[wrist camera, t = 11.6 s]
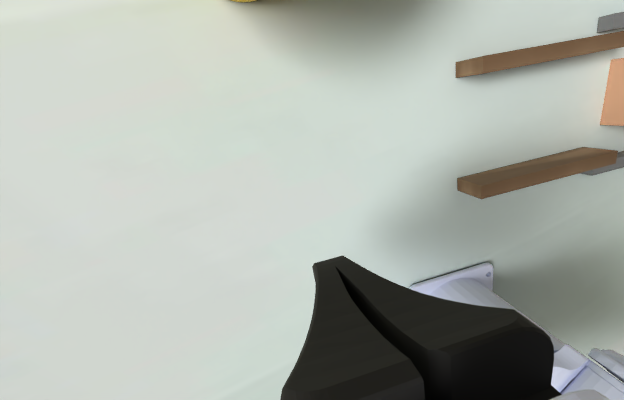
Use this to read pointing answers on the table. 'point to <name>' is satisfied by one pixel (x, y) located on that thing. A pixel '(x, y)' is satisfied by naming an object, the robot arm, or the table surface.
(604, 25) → the frame
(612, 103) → the terracotta block
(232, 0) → the plant pot
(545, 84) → the table surface
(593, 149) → the walled channel
